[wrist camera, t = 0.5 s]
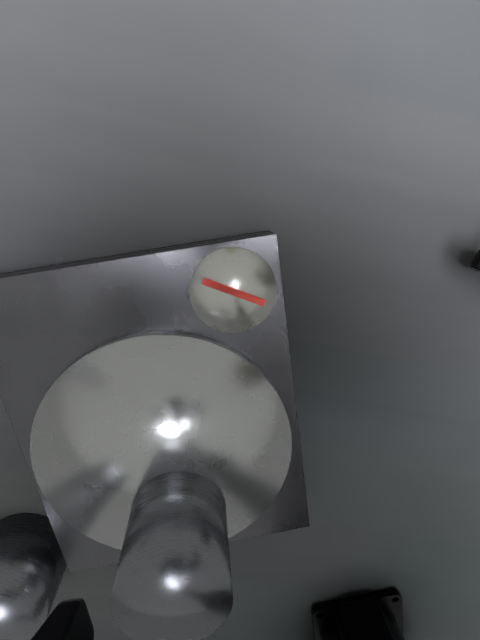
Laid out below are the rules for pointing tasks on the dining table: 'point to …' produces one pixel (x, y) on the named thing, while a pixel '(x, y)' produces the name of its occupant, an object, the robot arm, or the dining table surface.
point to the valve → (476, 262)
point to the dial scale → (153, 386)
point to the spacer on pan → (174, 561)
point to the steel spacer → (27, 574)
